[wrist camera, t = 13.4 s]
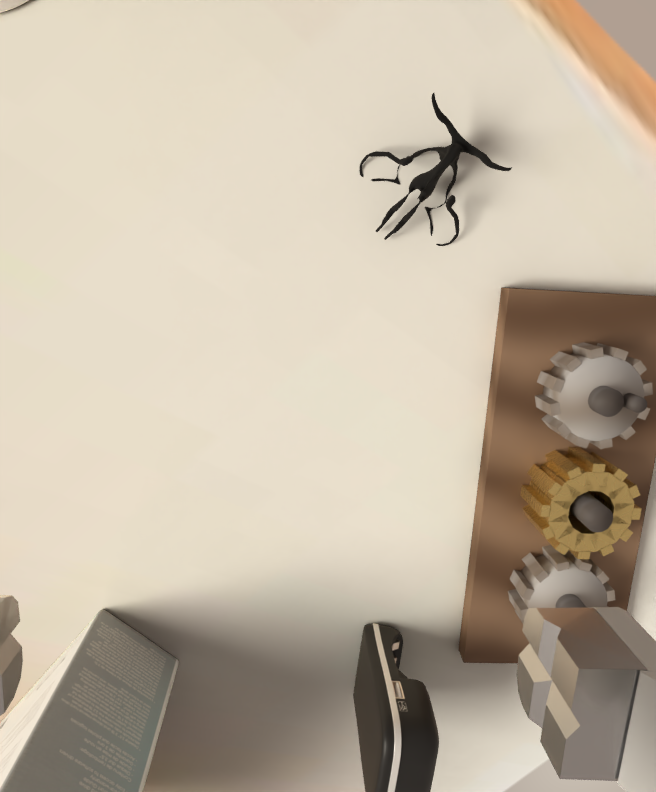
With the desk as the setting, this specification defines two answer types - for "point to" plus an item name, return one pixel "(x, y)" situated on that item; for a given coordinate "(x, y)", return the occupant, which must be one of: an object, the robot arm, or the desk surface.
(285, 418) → the desk surface
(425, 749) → the battery charger
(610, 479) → the brass gear
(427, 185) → the creature
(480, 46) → the desk surface
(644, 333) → the gear board
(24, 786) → the hard drive box
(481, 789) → the desk surface
